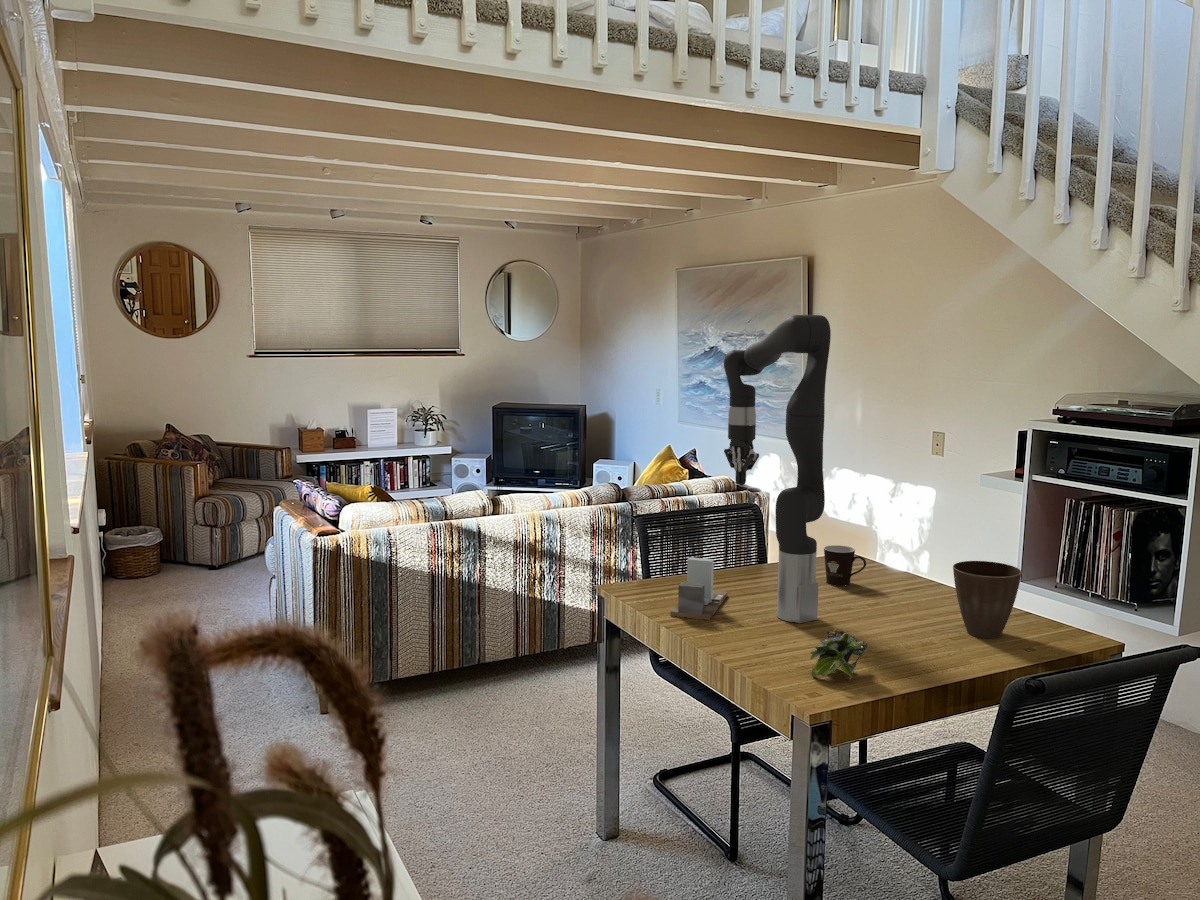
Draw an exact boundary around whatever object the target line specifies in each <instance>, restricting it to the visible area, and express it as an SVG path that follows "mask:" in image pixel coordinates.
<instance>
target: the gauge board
mask: <svg viewBox="0 0 1200 900" xmlns="http://www.w3.org/2000/svg"><path fill="white" fill-rule="evenodd" d="M677 597H678V598H677V599H678V602H677V604H676V605H675V606H673V608H672V609H671V610H670V617H675V616H677V617H678V618H684V617H687V619H695V620H703V619H705V620H704V621H710V620H711V619H712V618H713V616H714V615H715V614H716V612H717V611H718V610H719V608H720V607H721V605H722V604H723V603H724V601H725V600H726V599H725V598H727V597H728V591H724V590H714V589H713V599H719V600H720V602H714V601H712V602H711V603H709V604H708V605H704V598H705V584H696V583H687V582H683V581H681V582H680V583H679V584H678V596H677ZM722 602H723V603H722ZM719 606H720V607H719ZM679 616H680V617H679ZM710 618H711V619H710Z"/></svg>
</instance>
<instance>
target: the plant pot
mask: <svg viewBox="0 0 1200 900" xmlns="http://www.w3.org/2000/svg"><path fill="white" fill-rule="evenodd" d="M952 570H953V580H954V586H955V587H954V588H955V592H956V597H957V598H956V599H957V602H958V607H959V610H960V614H961V616H962V617H961V618H962V620H963V624H964V626H965V627H964V628H965V629H966V632H967V633H968V634H969V635H970V636H973V637H975V638H976V637H977V638H982V639H997V638H1000V637H1001V635H1002V634H1003V631H1004V630H1005V627H1006V625H1007V623H1008V621H1009V618H1010V616H1011V613H1012V611H1013V607H1014V605H1015V601H1016V598H1017V595H1018V591H1019V587H1020V582H1021V577H1022V570H1021V569H1020V568H1018V567H1016V566H1013V565H1011V564H1006V563H1001V562H995V561H987V560H966V561H959V562H956V563H954V564H953V565H952Z"/></svg>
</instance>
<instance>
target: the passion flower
mask: <svg viewBox="0 0 1200 900" xmlns="http://www.w3.org/2000/svg"><path fill="white" fill-rule="evenodd" d="M820 643H821V644H820ZM820 643H817V645H816V646H814V648H815V650H810V651H809V653H810V654H811V656H810V661H812V659H814V658H817V657H818V658H817V661H816V664H815V665H814V667H812V669H811V671H810V673H811V677H812V678H814V677H817V676H819V675H821V676H822V677H826V676H828V675H830V674H832V673H833V672H835V671H836V670H837V669H839V668H841V670H842V672H844V673H845V674H846V675H847V676H849V678H848V679H849V680H848V683H851V679H852V677H853V672H854V670H855V668H856V666H857V663H858V662H859V660H860V658H861V656H863V654H864V653H865V651H867V649H868V647H869V645H868V641H866V642H865V640H861V641H858V637H856V636H855V635H850V634H849V633H848V632H846V633H845V631H844V630H838V629H833V631H831V630H826V638H824V640H822V641H821V640H820ZM852 655H856V656H858V657H857V658H856V660H855V661H854V662H853V663H849V661H850V658H851V657H852Z"/></svg>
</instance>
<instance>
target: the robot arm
mask: <svg viewBox="0 0 1200 900" xmlns="http://www.w3.org/2000/svg"><path fill="white" fill-rule="evenodd" d="M831 331H832V330H831V325H830V322H829V319H828V318H827V317H826V316H824V315H822V314H821V315H820V314H793V315H791V316H788V317H787V318H785V319H784V320H782V321H781V322H780V323H779V324H778V325H777V326H776V328H774V329H773V330H772V331H771V332H770V333H769V334H767V336H765V337H763V338H761V339H760V340H758V341H755V342H754V343H752V344H750V345H748V347H747V348H746V349H736V350H735V349H734V350H733V349H732V350H729V351H728V352H727V353H726V355H725V356H724V359H723V368H724V372H725V376H726V380H727V385H728V388H729V410H728V419H727V421H728V422H727V423H728V424H727V425H728V427H727V438H728V440H729V441H730V442H729V447H728V448H725V449H723V450H724V451H723V452H724V453H723V454H724V456H725V457H726V459H727V462H728V464H729V466H730V468H731V469H734V471H735V484H736V485H740V486H744V485H745V484H746V482H747V471H751V470H752V469H753V467H754V466H755V464H756V463H757V462H758V459H759V457H760V454H759V453H758V452H755V450H754V443H753V442H754V441H755V439H756V434H757V433H756V430H757V429H756V427H757V426H756V425H757V424H756V423H757V414H756V413H757V412H756V411H757V410H756V387H755V386H754V385H752V384H747V383H744V382H743V380H742V378H741V377H742V376H743V377H745V376H746V377H749V376H752V377H753V376H757V375H759V374H761V373H762V372H763V370H764V369H765V368H766V367H768V366H772V365H773V364H775V363H776V362H777V361H778V360H779V359H780V358H781V356H782V354H785V353H794V354H807V357H806V363H805V364H806V366H805V370H804V371H805V372H804V374H803V375H802V378H801V381H800V382H799V384H798V385H797V387H795V388H796V389H795V390H794V391H793V393H792V394H791V396H790V398H789V400H788V402H787V405H786V410H785V436H786V440H787V442H788V444H789V447H790V449H791V452H792V453H793V456H794V459H795V461H796V465H797V481H796V482H797V483H796V486H793V487H788V488H785V489H782V490H781V491H780V492H779V493H778V496H777V498H776V500H775V501H776V502H775V536H776V539H777V542H778V565H777V566H778V567H777V568H778V569H777V574H778V575H777V597H776V598H777V601H776V602H777V603H776V604H777V605H776V606H777V609H776V617H778V619H780V620H783V621H785V622H790V623H791V622H792V623H796V624H802V623H809V622H811V621H817V620H818V612H819V611H818V608H819V607H818V605H819V604H818V603H819V583H818V581H816V577H817V575H816V574H817V553H818V552H817V550H818V549H817V548H818V543H817V540H816V539H815V538H813V537H811V536H809V535H808V533H807V524H808V523H812V522H816V521H817V520H819V519H820V518H821V516H822V515H823V513H824V510H825V504H826V503H825V502H826V501H825V499H826V497H825V483H824V482H825V481H824V466H823V465H824V463H823V462H824V434H825V433H824V431H825V408H826V406H825V403H826V402H825V400H826V398H825V396H826V381H827V370H828V363H829V356H830V355H829V354H830V348H831V338H832V337H831V335H832V333H831Z"/></svg>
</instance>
